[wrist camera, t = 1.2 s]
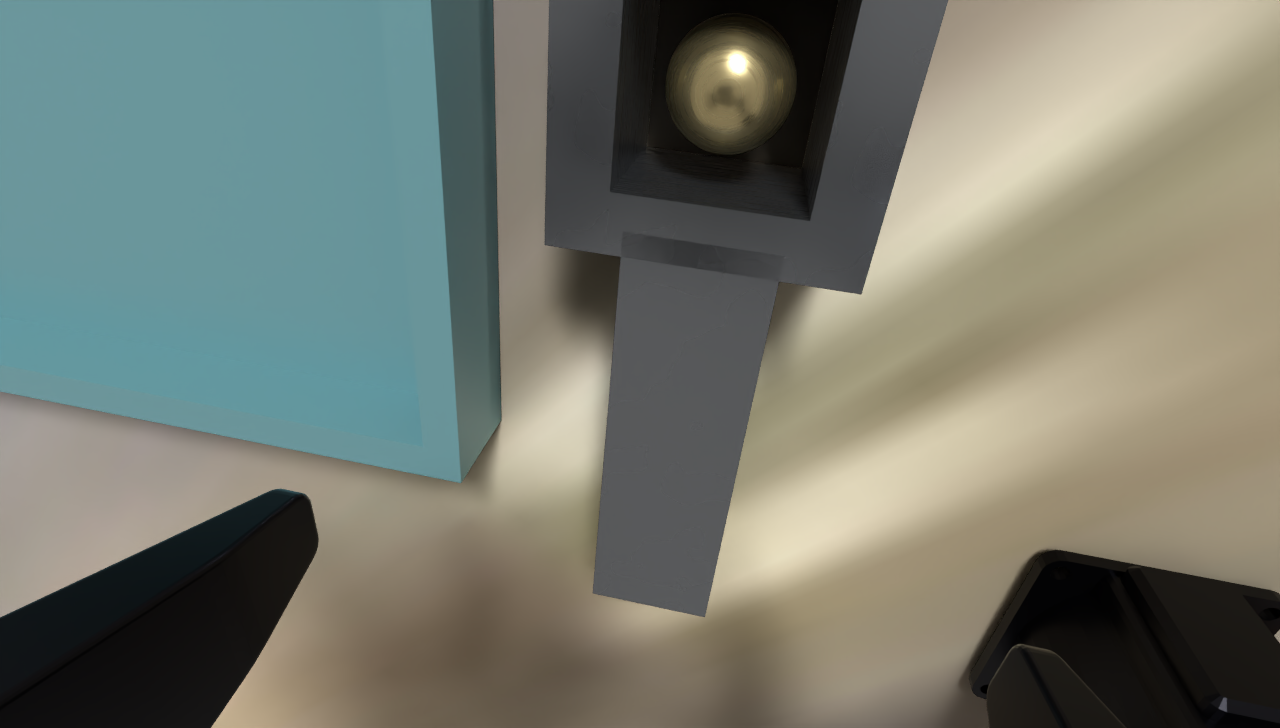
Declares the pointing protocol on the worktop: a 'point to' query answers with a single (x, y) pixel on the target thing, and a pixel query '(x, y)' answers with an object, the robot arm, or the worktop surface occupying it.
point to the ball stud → (731, 83)
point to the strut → (708, 260)
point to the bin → (256, 220)
